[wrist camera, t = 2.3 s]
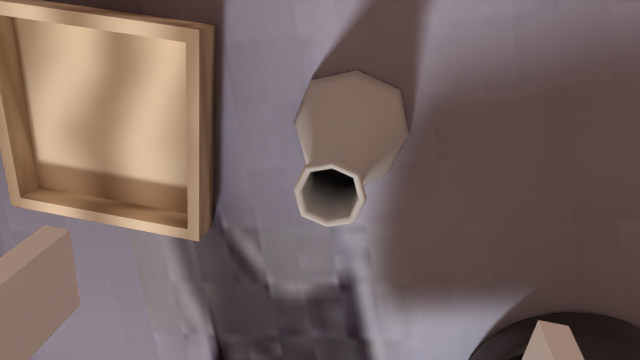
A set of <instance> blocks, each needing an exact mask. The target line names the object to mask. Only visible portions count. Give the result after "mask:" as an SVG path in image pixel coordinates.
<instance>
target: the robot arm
mask: <svg viewBox="0 0 640 360" xmlns="http://www.w3.org/2000/svg"><path fill="white" fill-rule="evenodd" d="M80 305H81V304H80V298H79V291H78V284H77V277H76V271H75V264H74V257H73V250H72V244H71V237H70V230H67V229H61V228H56V227H51V226H46V225H45V226H43V227H42V228H40V229H39V230H38V231H36V232H35V233H33V234H32V235H31V236H29V237H28V238H27V239H25V240H24V241H22V242H21V243H20V244H18V245H17V246H16V247H14V248H13V249H11V250H10V251H9V252H7V253H6V254H5V255H3V256H2V257H0V360H28V359H29V358H30V357H31V356H32V355H33V354H34V353H35V352H36V351H37V350H38V349H39V348H40V347H41V346H42V345H43V344H44V342H45V341H46V340H47V339H48V338H49V337H50V336H51V335H52V334H53V333H54V332H55V331H56V330H57V329H58V328H59V327H60V326H61V325H62V323H63V322H64V321H65V320H66V319H67V318H68V317H69V316H70V315H71V314H72V313H73V312H74V311H75V310H76V309H77V308H78V307H79V306H80ZM470 360H640V329H639V328H637V327H635V326H633V325H631V324H628V323H626V322H623V321H620V320H617V319H614V318H610V317H605V316H600V315H594V314H584V313H562V314H552V315H546V316H540V317H536V318H532V319H528V320H525V321H522V322H519V323H517V324H514V325H512V326H510V327H508V328H506V329H504V330H502V331H500V332H498V333H497V334H495V335H494V336H492V337H491V338H489V339H488V340H487V341H486V342H485V343H483V344H482V345H481V346H480V347H479V348H478V349H477V350H476V352H475V353H474V354H473V355H472V357H471V358H470Z"/></svg>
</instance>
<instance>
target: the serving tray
mask: <svg viewBox="0 0 640 360" xmlns="http://www.w3.org/2000/svg"><path fill="white" fill-rule="evenodd" d="M215 28H216V25H212V24H205V23H198V22H191V21H184V20H177V19H170V18H163V17H156V16H149V15H142V14H135V13H128V12H121V11H114V10H108V9H101V8H94V7H87V6H80V5H73V4H66V3H59V2H52V1H45V0H0V149H1V154H2V159H3V164H4V169H5V174H6V179H7V184H8V189H9V194H10V199H11V204H12V206H16V207H21V208H26V209H32V210H37V211H42V212H47V213H53V214H58V215H63V216H68V217H74V218H79V219H84V220H89V221H95V222H100V223H105V224H110V225H116V226H121V227H126V228H131V229H136V230H142V231H147V232H152V233H157V234H163V235H168V236H173V237H178V238H184V239H189V240H194V241H200V240H201V238H202V237H203V236H204V234H205V233H206V232H207V230H208V229H209V227H210V226H211V225H212V223H213V160H214V94H215Z"/></svg>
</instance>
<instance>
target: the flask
mask: <svg viewBox="0 0 640 360" xmlns="http://www.w3.org/2000/svg"><path fill="white" fill-rule="evenodd" d="M294 122H295V126H296V130H297V133H298V137H299V140H300V144H301V148H302V151H303V155H304V158H305V162H306V165H305V166H304V168H303V170H302V173H301V175H300V177H299V180H298V182H297V184H296V186H295V189H294V193H295V196H296V200H297V203H298V207H299V210H300V213H301V216H303V217H305V218H308V219H310V220H312V221H314V222H317V223H319V224H321V225H323V226H326V227H330V226H337V225H344V224H351V223H354V222H355V220H356V218H357V216H358V214H359V212H360V211H361V209H362V207H363V205H364V203H365V201H366V194H365V190H364V185H366V184H367V183H369V182H371V181H372V180H374V179H376V178H379V177H381V176H383V175H385V174H387V173H388V172H389V170H390V168H391V167H392V165H393V163H394V161H395V159H396V157H397V155H398V154H399V152H400V150H401V148H402V146H403V144H404V142H405V141H406V139H407V137H408V135H409V134H408V129H407V123H406V118H405V112H404V107H403V102H402V96H401V91H400V90H399V89H397V88H395V87H393V86H391V85H388V84H386V83H384V82H382V81H380V80H377V79H375V78H373V77H371V76H369V75H367V74H364V73H362V72H360V71H358V70H355V71H350V72H346V73H341V74H337V75H332V76H328V77H323V78H319V79H314V80H311V81H310V84H309V86H308V89H307V91H306V93H305V96H304V98H303V101H302V103H301V106H300V108H299V111H298V113H297V115H296V118H295V120H294Z"/></svg>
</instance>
